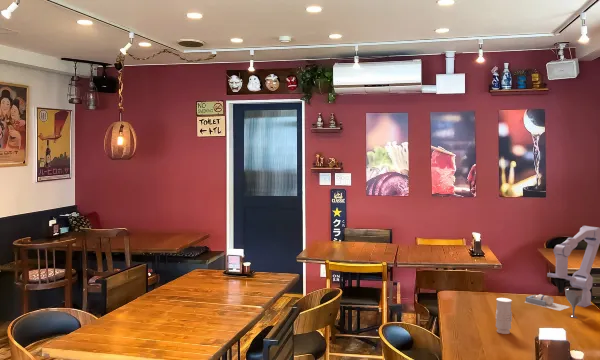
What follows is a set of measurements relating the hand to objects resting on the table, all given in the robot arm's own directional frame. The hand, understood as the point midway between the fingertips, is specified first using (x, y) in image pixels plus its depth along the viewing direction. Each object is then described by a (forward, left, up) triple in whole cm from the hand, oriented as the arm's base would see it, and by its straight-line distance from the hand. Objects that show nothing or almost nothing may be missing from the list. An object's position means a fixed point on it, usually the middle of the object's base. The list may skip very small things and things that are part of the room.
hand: (561, 292), depth 277 cm
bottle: (0, -5, -6) cm, 8 cm away
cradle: (0, -8, -9) cm, 12 cm away
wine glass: (+11, +12, -9) cm, 19 cm away
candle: (+59, +3, -9) cm, 60 cm away
